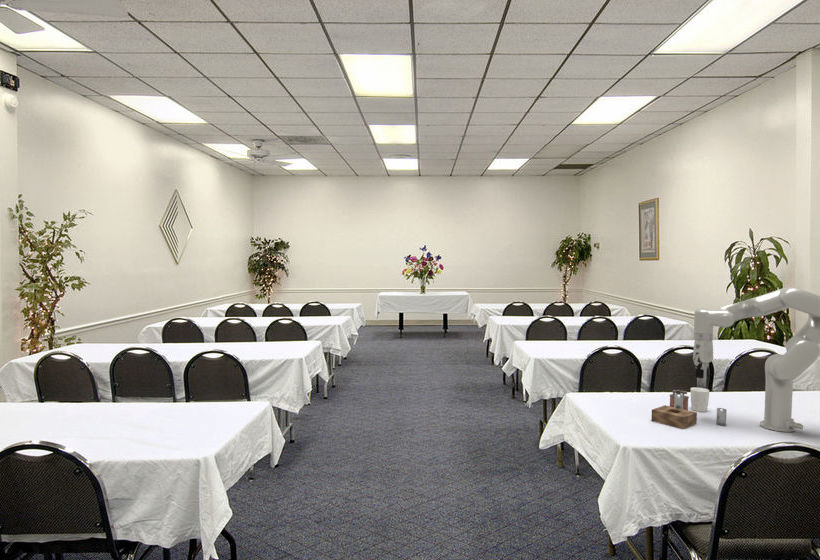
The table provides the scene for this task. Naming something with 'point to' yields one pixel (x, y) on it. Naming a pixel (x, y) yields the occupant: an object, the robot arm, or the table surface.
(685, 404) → the silver copper upright piece
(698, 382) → the long pin
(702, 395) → the white cup
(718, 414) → the short pin
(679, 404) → the medium pin
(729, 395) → the table surface
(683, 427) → the socket block
